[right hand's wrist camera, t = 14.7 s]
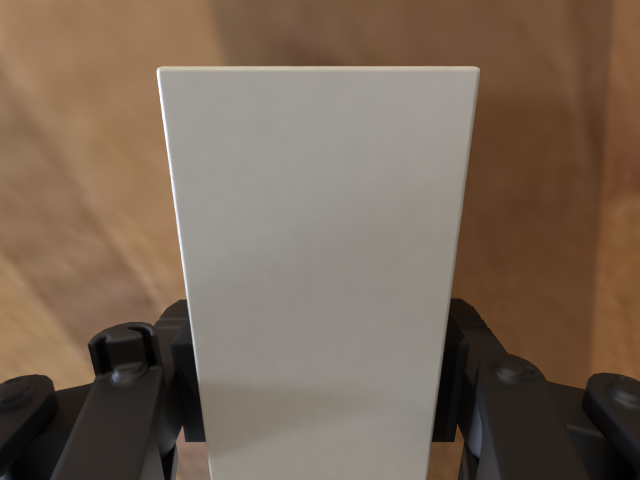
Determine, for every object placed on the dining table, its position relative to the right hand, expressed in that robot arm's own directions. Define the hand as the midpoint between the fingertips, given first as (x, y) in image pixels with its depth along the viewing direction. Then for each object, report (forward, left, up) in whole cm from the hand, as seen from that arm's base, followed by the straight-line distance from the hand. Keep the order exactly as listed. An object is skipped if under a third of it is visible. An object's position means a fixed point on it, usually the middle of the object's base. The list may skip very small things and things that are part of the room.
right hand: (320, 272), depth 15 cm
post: (-2, -23, -1) cm, 24 cm away
